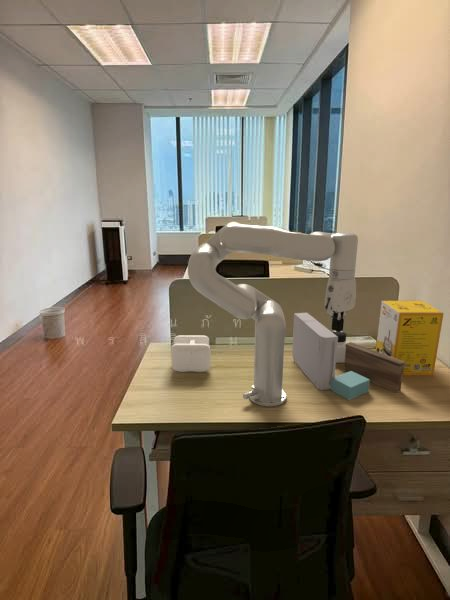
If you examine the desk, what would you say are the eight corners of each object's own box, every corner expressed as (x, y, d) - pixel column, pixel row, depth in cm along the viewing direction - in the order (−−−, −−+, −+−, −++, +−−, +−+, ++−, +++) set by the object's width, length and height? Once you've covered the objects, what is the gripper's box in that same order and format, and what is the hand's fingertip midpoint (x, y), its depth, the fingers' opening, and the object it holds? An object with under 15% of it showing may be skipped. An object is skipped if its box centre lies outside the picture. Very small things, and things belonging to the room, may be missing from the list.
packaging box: (374, 357, 163) (381, 300, 156) (413, 357, 163) (422, 300, 156) (390, 375, 148) (398, 312, 141) (433, 375, 148) (443, 313, 141)
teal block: (349, 400, 130) (350, 387, 129) (331, 390, 137) (332, 377, 135) (368, 392, 136) (369, 379, 134) (349, 383, 142) (351, 370, 141)
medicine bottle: (347, 362, 158) (350, 335, 154) (329, 362, 158) (332, 335, 155) (342, 355, 165) (345, 329, 161) (325, 355, 165) (328, 329, 161)
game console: (318, 390, 136) (322, 338, 131) (291, 358, 162) (293, 313, 156) (333, 389, 137) (338, 336, 132) (304, 357, 163) (307, 312, 157)
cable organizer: (211, 361, 159) (211, 335, 156) (210, 373, 149) (210, 345, 146) (175, 361, 159) (174, 335, 156) (171, 373, 149) (170, 345, 146)
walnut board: (396, 393, 135) (400, 364, 132) (343, 370, 151) (345, 344, 148) (401, 390, 137) (405, 361, 133) (348, 368, 153) (350, 342, 150)
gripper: (336, 279, 111) (331, 339, 116) (366, 272, 120) (361, 328, 125) (316, 275, 117) (312, 332, 122) (346, 269, 126) (341, 322, 131)
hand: (337, 330), depth 124 cm, fingers closed
